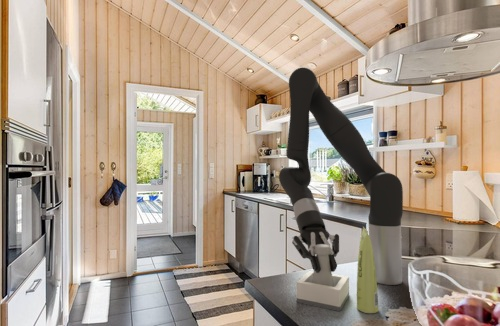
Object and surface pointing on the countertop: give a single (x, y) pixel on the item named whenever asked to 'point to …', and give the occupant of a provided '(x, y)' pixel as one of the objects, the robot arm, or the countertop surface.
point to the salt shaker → (323, 266)
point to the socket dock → (323, 292)
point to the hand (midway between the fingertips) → (326, 270)
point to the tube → (366, 276)
